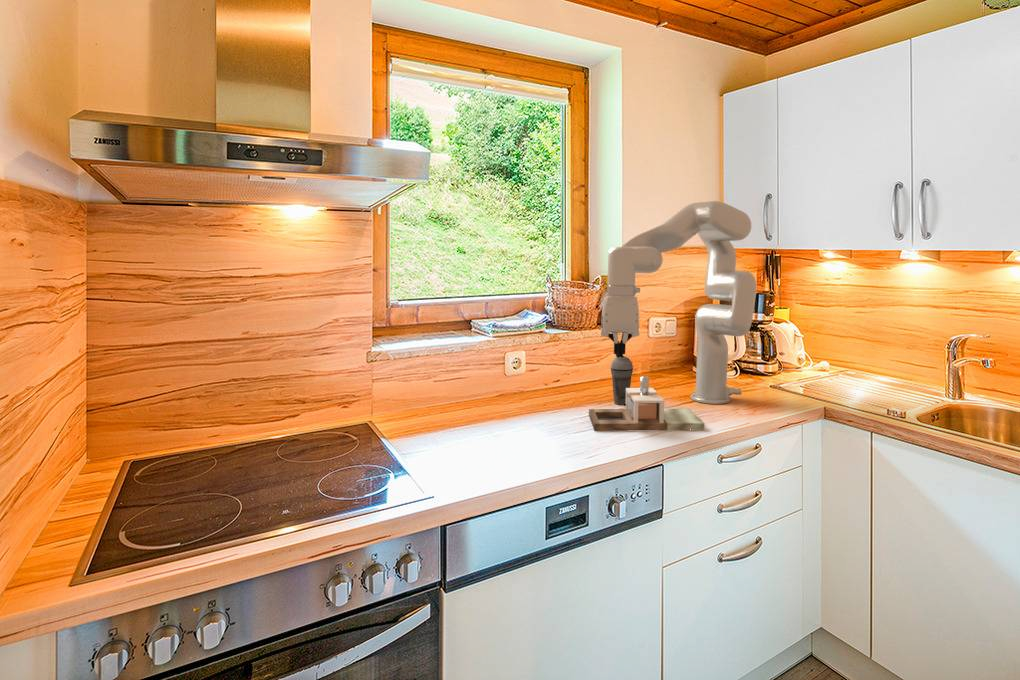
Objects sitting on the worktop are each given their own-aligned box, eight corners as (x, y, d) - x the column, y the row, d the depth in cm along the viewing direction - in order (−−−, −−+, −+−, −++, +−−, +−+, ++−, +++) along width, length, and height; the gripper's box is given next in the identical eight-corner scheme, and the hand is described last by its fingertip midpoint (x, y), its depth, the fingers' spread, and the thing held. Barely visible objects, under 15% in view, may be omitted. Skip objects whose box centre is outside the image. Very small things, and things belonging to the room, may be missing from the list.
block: (652, 413, 163) (652, 399, 162) (656, 418, 157) (656, 404, 157) (631, 413, 163) (631, 399, 162) (635, 418, 158) (635, 405, 157)
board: (688, 415, 167) (689, 408, 167) (703, 430, 153) (704, 423, 153) (588, 415, 168) (588, 409, 168) (594, 430, 154) (594, 423, 154)
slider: (655, 411, 164) (656, 374, 162) (660, 418, 157) (662, 379, 155) (627, 411, 164) (627, 374, 162) (631, 418, 157) (632, 379, 155)
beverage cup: (630, 406, 177) (632, 344, 174) (608, 405, 179) (608, 343, 176) (634, 401, 184) (635, 341, 180) (611, 399, 186) (612, 340, 183)
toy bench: (652, 408, 167) (652, 387, 166) (663, 423, 153) (664, 400, 152) (625, 409, 168) (625, 387, 167) (634, 423, 153) (634, 400, 152)
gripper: (645, 291, 158) (643, 354, 161) (592, 291, 159) (591, 354, 162) (651, 292, 151) (648, 359, 154) (595, 292, 151) (594, 359, 154)
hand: (619, 356), depth 158 cm, fingers closed
